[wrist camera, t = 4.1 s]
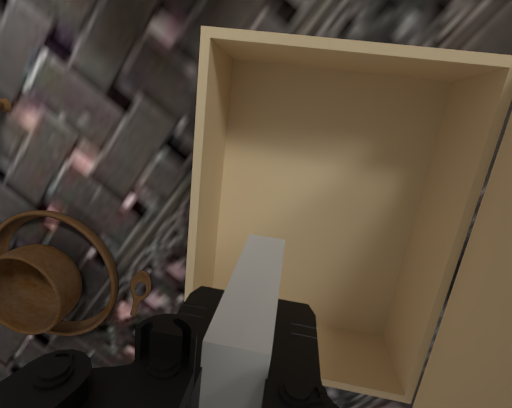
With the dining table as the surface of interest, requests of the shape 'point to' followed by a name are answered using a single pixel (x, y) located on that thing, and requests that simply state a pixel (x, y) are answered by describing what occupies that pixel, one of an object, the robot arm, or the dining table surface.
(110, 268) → the place setting
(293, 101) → the box
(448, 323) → the lid
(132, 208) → the dining table surface
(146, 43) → the dining table surface
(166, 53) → the dining table surface
